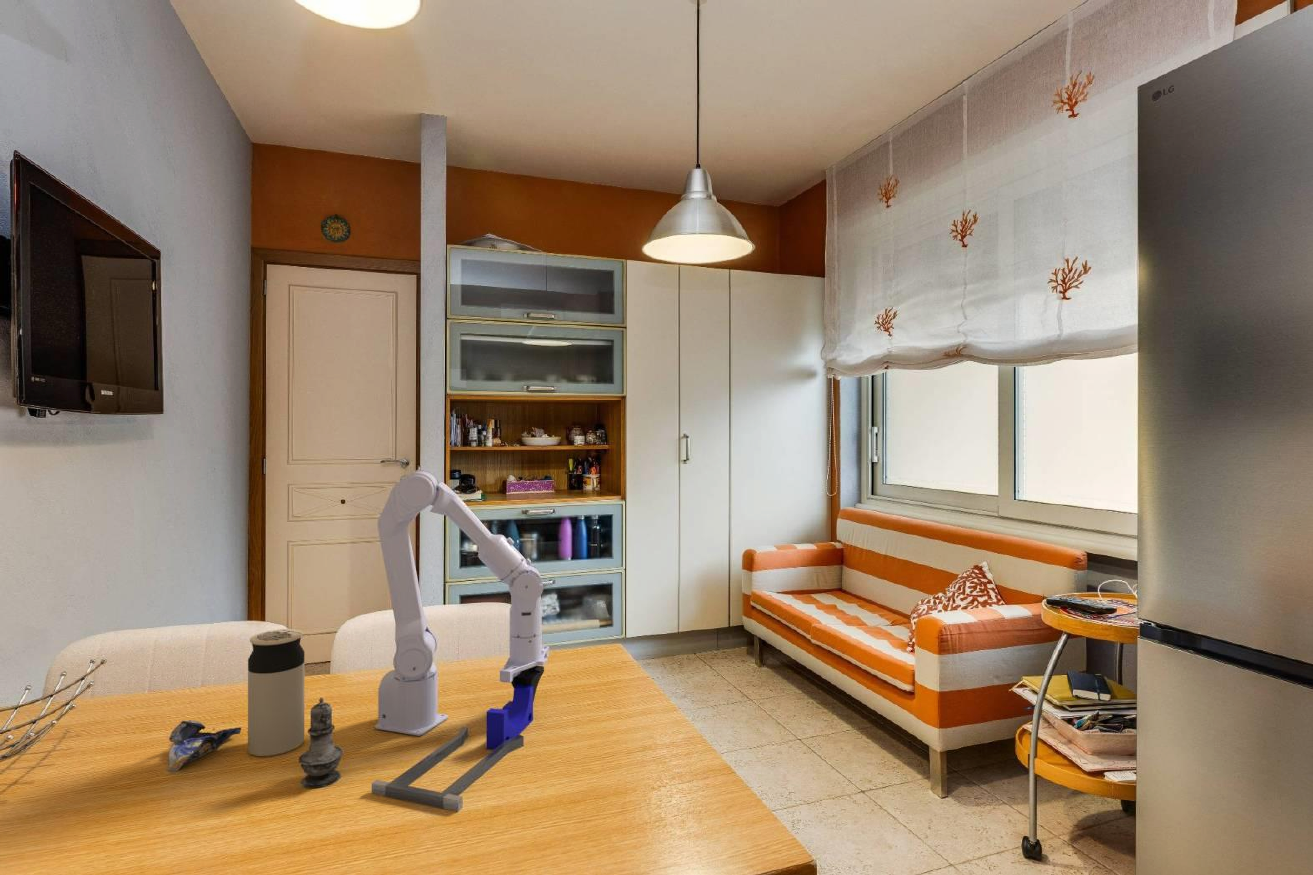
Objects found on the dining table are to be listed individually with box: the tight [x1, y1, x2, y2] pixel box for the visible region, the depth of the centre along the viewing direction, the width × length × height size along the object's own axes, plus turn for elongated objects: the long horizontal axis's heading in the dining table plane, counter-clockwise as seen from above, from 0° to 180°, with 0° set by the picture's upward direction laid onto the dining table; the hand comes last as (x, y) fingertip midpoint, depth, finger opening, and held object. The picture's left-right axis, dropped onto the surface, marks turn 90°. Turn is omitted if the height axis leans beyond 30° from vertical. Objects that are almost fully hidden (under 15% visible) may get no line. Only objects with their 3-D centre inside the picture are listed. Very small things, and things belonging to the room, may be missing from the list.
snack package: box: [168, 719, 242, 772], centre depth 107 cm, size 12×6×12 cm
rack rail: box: [371, 726, 525, 812], centre depth 102 cm, size 14×20×2 cm
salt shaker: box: [298, 697, 344, 790], centre depth 99 cm, size 6×6×12 cm
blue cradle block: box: [485, 685, 534, 751], centre depth 114 cm, size 12×4×6 cm, turn 168°
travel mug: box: [247, 628, 305, 757], centre depth 109 cm, size 8×8×18 cm
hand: (525, 708), depth 122 cm, fingers closed
